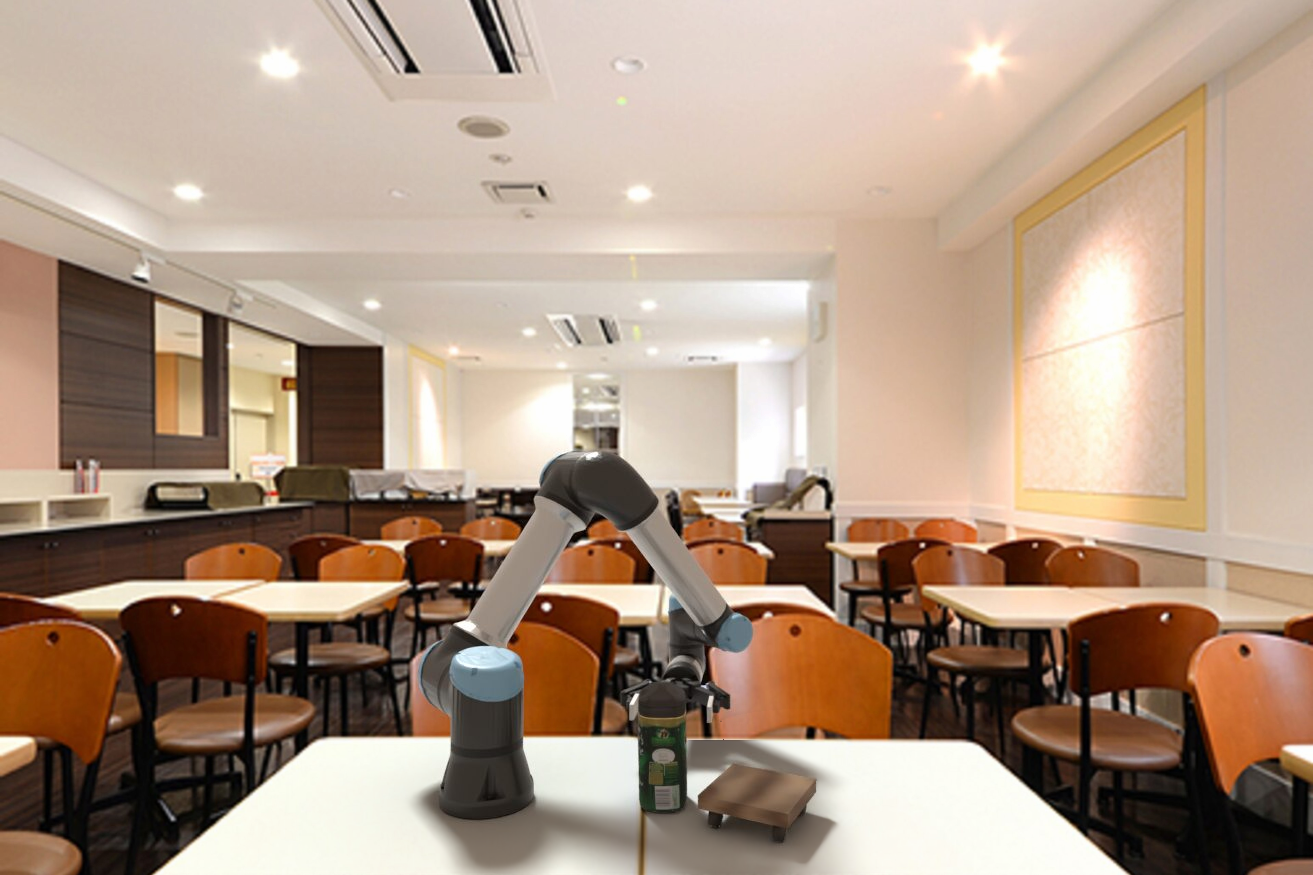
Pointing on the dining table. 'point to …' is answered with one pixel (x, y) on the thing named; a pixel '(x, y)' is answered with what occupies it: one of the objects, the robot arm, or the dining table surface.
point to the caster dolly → (757, 797)
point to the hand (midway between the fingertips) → (670, 713)
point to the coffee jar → (662, 747)
